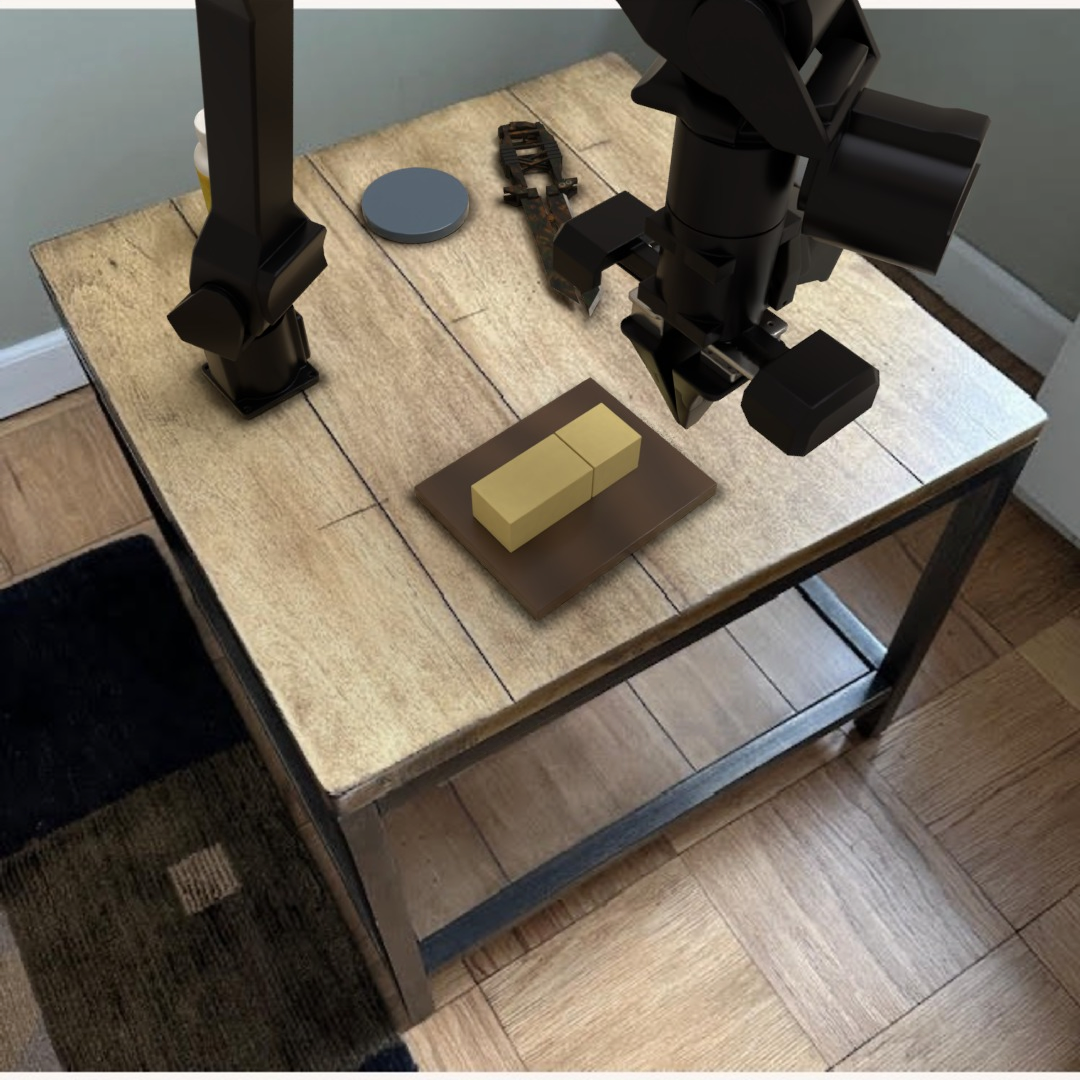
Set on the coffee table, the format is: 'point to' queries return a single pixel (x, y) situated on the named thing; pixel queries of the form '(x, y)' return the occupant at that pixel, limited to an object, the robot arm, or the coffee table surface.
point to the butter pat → (603, 445)
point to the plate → (415, 205)
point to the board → (588, 531)
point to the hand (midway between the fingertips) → (687, 422)
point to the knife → (533, 202)
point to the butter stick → (531, 492)
